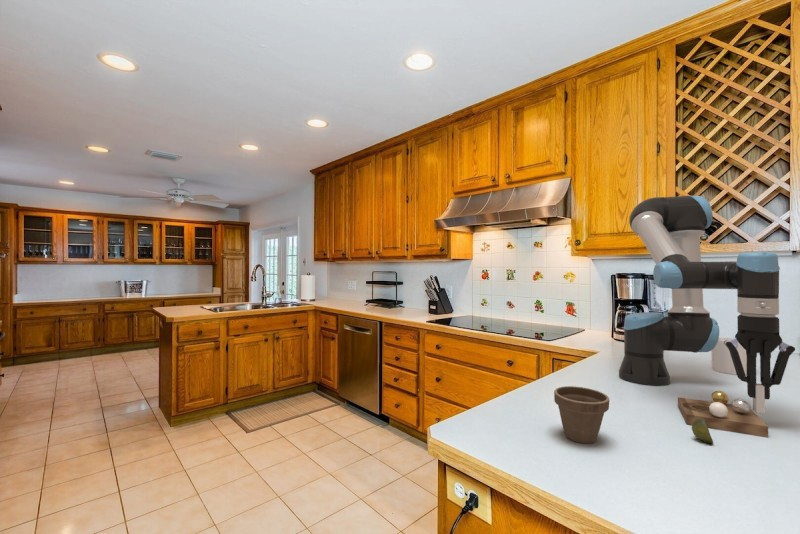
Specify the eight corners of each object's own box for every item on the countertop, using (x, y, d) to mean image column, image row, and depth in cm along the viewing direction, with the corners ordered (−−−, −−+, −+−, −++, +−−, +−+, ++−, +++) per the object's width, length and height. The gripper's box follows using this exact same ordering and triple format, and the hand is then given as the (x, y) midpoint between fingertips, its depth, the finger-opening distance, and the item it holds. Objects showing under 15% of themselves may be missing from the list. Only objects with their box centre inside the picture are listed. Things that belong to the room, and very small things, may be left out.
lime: (705, 436, 88) (704, 414, 88) (723, 446, 83) (723, 422, 83) (685, 436, 88) (685, 414, 88) (703, 446, 83) (702, 423, 83)
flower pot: (618, 451, 80) (617, 403, 80) (560, 447, 82) (560, 400, 82) (599, 429, 91) (599, 387, 92) (549, 426, 93) (549, 384, 93)
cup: (746, 377, 137) (745, 343, 137) (706, 370, 147) (706, 339, 147) (757, 372, 144) (756, 340, 144) (718, 366, 153) (718, 336, 154)
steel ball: (734, 414, 94) (733, 400, 94) (730, 409, 98) (730, 396, 98) (752, 417, 93) (752, 402, 93) (748, 412, 96) (748, 398, 96)
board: (686, 424, 94) (686, 414, 94) (677, 406, 107) (677, 397, 108) (768, 437, 87) (768, 426, 87) (747, 415, 100) (747, 406, 100)
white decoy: (711, 418, 92) (710, 403, 92) (707, 413, 95) (707, 399, 95) (729, 420, 90) (729, 405, 90) (725, 415, 93) (725, 401, 93)
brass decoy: (713, 405, 101) (713, 391, 101) (710, 401, 104) (710, 388, 104) (730, 407, 99) (730, 394, 99) (726, 403, 102) (726, 390, 102)
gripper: (727, 315, 94) (728, 411, 94) (801, 318, 88) (802, 421, 87) (719, 312, 100) (720, 402, 100) (787, 315, 94) (788, 411, 94)
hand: (758, 411), depth 94 cm, fingers closed
